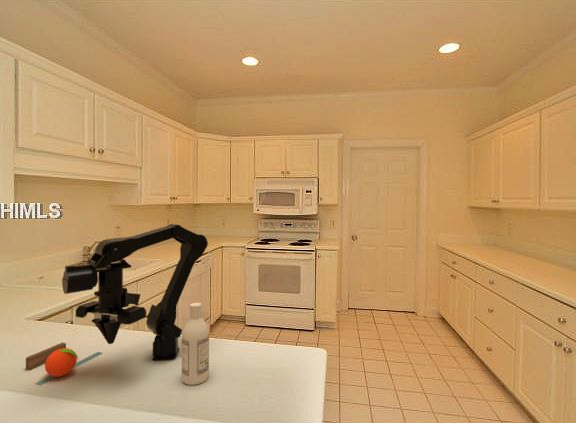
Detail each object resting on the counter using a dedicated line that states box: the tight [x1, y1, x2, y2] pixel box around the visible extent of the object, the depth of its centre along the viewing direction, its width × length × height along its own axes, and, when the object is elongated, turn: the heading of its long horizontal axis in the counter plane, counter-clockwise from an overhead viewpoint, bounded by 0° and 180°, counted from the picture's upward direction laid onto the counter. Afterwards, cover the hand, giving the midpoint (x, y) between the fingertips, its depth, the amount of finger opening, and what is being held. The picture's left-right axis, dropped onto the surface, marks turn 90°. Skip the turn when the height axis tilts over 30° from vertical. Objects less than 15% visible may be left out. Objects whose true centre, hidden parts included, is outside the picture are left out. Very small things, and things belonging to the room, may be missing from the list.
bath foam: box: [181, 302, 210, 386], centre depth 80 cm, size 7×7×20 cm
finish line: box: [34, 351, 103, 386], centre depth 85 cm, size 2×18×1 cm, turn 163°
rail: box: [25, 342, 67, 371], centre depth 88 cm, size 2×10×4 cm, turn 163°
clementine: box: [44, 347, 79, 378], centre depth 81 cm, size 8×7×7 cm
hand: (111, 343), depth 81 cm, fingers closed
